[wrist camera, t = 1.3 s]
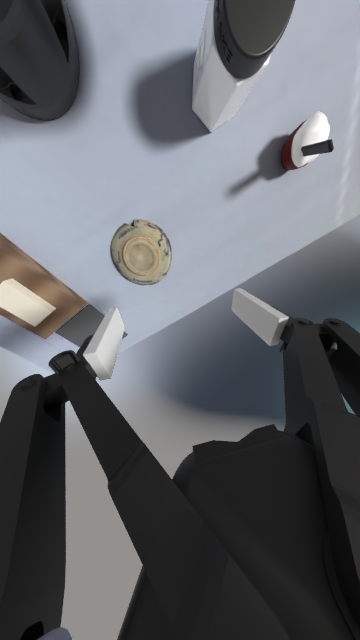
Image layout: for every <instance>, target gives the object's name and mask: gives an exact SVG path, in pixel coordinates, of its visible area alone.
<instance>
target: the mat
mask: <svg viewBox="0 0 360 640" xmlns="http://www.w3.org/2000/svg"><path fill="white" fill-rule="evenodd" d="M104 317H105V316H104V315H103V314H101V313H100V312H99V311H98V310H96V309H95V308H94V307H93V306H91V305H90V304H89V305H87V306H86V307H85V308H84V309H83V310H82V311H80V312H79V313H78V314H77V315H76V316H74V317H73V318H72V319H71V320H70V321H68V322H67V323H66V324H65V325H64V326H62V327H61V328H60V329H59V330H58V331H56V332H55V333H57V334H59V335H60V336H62V337H64V338H66V339H67V340H69V341H71V342H72V343H74V344H76V345H77V346H79V347H81V345H83V342H84V341H85V339H86V338H87V337H89V336H90V335H94V334H95V333H96V331H97V329H98V327H99V326H100V324H101V322H102V320H103V319H104ZM127 335H128V334H126V333H125V332H124V333H123V337H122V339H123V338H124V337H125V336H127Z"/></svg>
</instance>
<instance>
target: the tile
mask: <svg viewBox="0 0 360 640" xmlns="http://www.w3.org/2000/svg"><path fill="white" fill-rule="evenodd" d="M0 307H1V308H3V309H5V310H7V311H8V312H10V313H12V314H14V315H15V316H17V317H19V318H21V319H22V320H24V321H26V322H27V323H29V324H31V325H33V326H34V327H35V326H37V325H38V324H39V323H41V322H42V321H43V320H44V319H45V318H46V317H47V316H48V315H50V314H51V313H52V312H53V311H54V310H55V309H56V308H55V307H54V306H52V305H51V304H49V303H48V302H46V301H45V300H43V299H42V298H40V297H39V296H38V295H36V294H35V293H33V292H32V291H30V290H29V289H27V288H26V287H24V286H23V285H21V284H20V283H19V282H17V281H16V280H14V279H13V278H12V279H8V280H5V281H3V282H2V283H1V284H0Z"/></svg>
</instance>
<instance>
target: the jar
mask: <svg viewBox="0 0 360 640" xmlns="http://www.w3.org/2000/svg"><path fill="white" fill-rule="evenodd" d="M294 3H295V0H209V1H208V6H207V10H206V14H205V18H204V22H203V27H202V31H201V35H200V39H199V43H198V48H197V52H196V56H195V60H194V74H193V95H192V109H193V111H194V112H195V113H196V114H197V116H198V117H199V118H200V119H201V121H202V122H203V123H204V124H205V126H206V127H207V128H208V129H209V131H210V132H213V131H214V130H216V129H217V128H218V127H220V126H221V125H223V124H224V123H226V122H227V121H228V120H230V119H231V118H233V116H234V115H235V113H236V112H237V110H238V109H239V107H240V106H241V104H242V103H243V101H244V100H245V98H246V97H247V95H248V94H249V92H250V91H251V89H252V88H253V86H254V85H255V83H256V82H257V80H258V79H259V77H260V76H261V74H262V73H263V71H264V70H265V68H266V67H267V65H268V63H269V60H270V55H271V52H272V51H273V49H274V48H275V46H276V45H277V43H278V42H279V40H280V38H281V37H282V35H283V33H284V31H285V29H286V26H287V24H288V22H289V19H290V16H291V13H292V10H293V7H294Z"/></svg>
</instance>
